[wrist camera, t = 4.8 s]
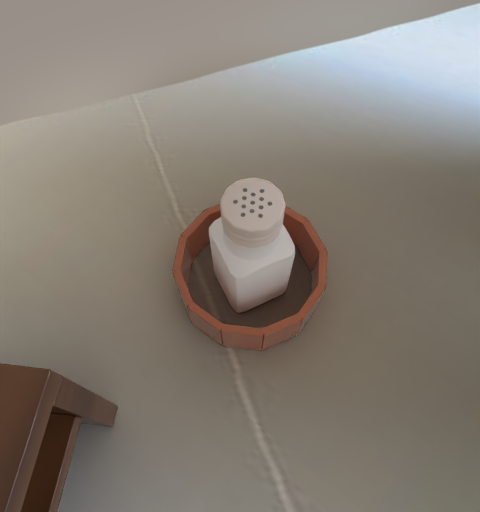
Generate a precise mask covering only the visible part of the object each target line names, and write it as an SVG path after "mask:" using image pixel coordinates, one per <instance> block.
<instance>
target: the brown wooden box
mask: <svg viewBox="0 0 480 512" xmlns="http://www.w3.org/2000/svg"><path fill="white" fill-rule="evenodd" d="M116 411H117V405H115V404H113V403H111V402H109V401H107V400H105V399H104V398H102V397H100V396H98V395H96V394H94V393H93V392H91V391H89V390H87V389H85V388H83V387H81V386H80V385H78V384H76V383H74V382H72V381H70V380H68V379H67V378H65V377H63V376H61V375H59V374H57V373H56V372H54V371H52V370H50V369H42V368H33V367H25V366H17V365H9V364H0V512H57V509H58V505H59V502H60V498H61V494H62V490H63V487H64V483H65V479H66V476H67V472H68V468H69V465H70V461H71V457H72V454H73V450H74V446H75V442H76V439H77V435H78V431H79V428H80V424H81V423H84V424H92V425H100V426H108V427H113V424H114V419H115V415H116Z"/></svg>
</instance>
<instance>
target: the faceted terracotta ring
mask: <svg viewBox="0 0 480 512" xmlns="http://www.w3.org/2000/svg"><path fill="white" fill-rule="evenodd" d="M220 217H221V209H220V204H219V205H216V206H213V207H211V208H208V209H205V211H203V212H202V213H201V214H200V215H199V216H198V217H197V218H196V219H195V220H194V222H193V223H192V224H191V225H190V226H189V227H188V228H187V229H186V230H185V231H184V232H183V233H182V234H181V237H180V238H179V242H178V247H177V252H176V257H175V261H174V266H173V275H174V278H175V281H176V283H177V286H178V289H179V292H180V295H181V297H182V300H183V302H184V305H185V307H186V310H187V312H188V315H189V317H190V320H191V322H192V323H193V325H194V326H196V327H197V328H198V329H200V330H201V331H203V332H204V333H205V334H207V335H208V336H209V337H211V338H212V339H213V340H215V341H216V342H217V343H219V344H220V345H223V346H224V347H233V348H242V349H251V350H259V351H260V350H261V349H262V350H265V349H267V348H269V347H272V346H274V345H276V344H279V343H281V342H283V341H285V340H288V339H290V338H292V337H295V336H296V335H298V334H299V332H300V331H301V329H302V328H303V326H304V325H305V324H306V322H307V321H308V319H309V318H310V316H311V315H312V314H313V312H314V311H315V309H316V308H317V306H318V304H319V302H320V299H321V297H322V295H323V293H324V291H325V288H326V271H327V252H326V248H325V247H324V245H323V243H322V242H321V240H320V238H319V237H318V235H317V233H316V232H315V230H314V228H313V227H312V225H311V223H310V222H309V220H308V221H307V219H306V218H305V217H303V216H301V215H300V214H298V213H296V212H295V211H293V210H291V209H290V208H288V207H286V206H285V212H284V218H283V225H284V227H285V228H286V230H287V232H288V233H289V235H290V237H291V239H292V241H293V243H294V245H295V246H297V247H298V249H299V251H300V253H301V254H302V256H303V258H304V260H305V262H306V263H307V265H308V267H309V269H310V271H311V272H312V279H311V295H310V296H309V298H308V299H307V301H306V302H305V303H304V305H303V306H302V308H301V309H300V310H299V312H298V313H297V314H295V315H292V316H290V317H288V318H285V319H283V320H280V321H278V322H276V323H273V324H271V325H269V326H266V327H264V328H257V327H248V326H239V325H230V324H223V323H222V322H220V321H219V320H218V319H216V318H215V317H214V316H212V315H211V314H209V313H208V312H207V311H205V310H204V309H202V308H201V307H200V306H198V305H197V304H196V303H194V302H193V299H192V297H191V294H190V292H189V290H188V287H187V285H188V280H189V275H190V269H191V264H192V260H193V259H194V258H195V257H196V256H197V254H198V253H199V252H200V251H201V250H202V249H203V248H204V247H205V245H206V244H207V243H208V242H209V241H210V239H209V227H210V226H211V224H212V223H213V222H214V221H215V220H217V219H219V218H220Z"/></svg>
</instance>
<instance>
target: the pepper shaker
mask: <svg viewBox="0 0 480 512" xmlns="http://www.w3.org/2000/svg"><path fill="white" fill-rule="evenodd" d="M285 206H286V205H285V202H284V198H283V195H282V192H281V191H280V190H279V189H278V188H277V187H276V186H275V185H274V184H272V183H271V182H270V181H267V180H263V179H260V178H256V177H252V178H245V179H239V180H237V181H236V182H234V183H233V184H232V185H230V186H229V187H227V188H226V189H225V191H224V194H223V196H222V198H221V200H220V209H221V217H220V218H219V219H217V220H215V221H214V222H213V223H212V224H211V226H210V227H209V239H210V246H211V253H212V260H213V267H214V273H215V275H216V277H217V279H218V281H219V283H220V285H221V287H222V289H223V291H224V293H225V295H226V297H227V299H228V301H229V303H230V305H231V307H232V308H233V309H234V310H235V311H236V312H245V311H247V310H250V309H252V308H254V307H256V306H258V305H260V304H262V303H265V302H267V301H269V300H271V299H273V298H275V297H277V296H280V295H282V294H283V293H284V292H285V291H286V290H287V286H288V282H289V278H290V273H291V269H292V265H293V261H294V257H295V245H294V243H293V241H292V239H291V237H290V235H289V233H288V232H287V230H286V228H285V227H284V225H283V218H284V212H285Z"/></svg>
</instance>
